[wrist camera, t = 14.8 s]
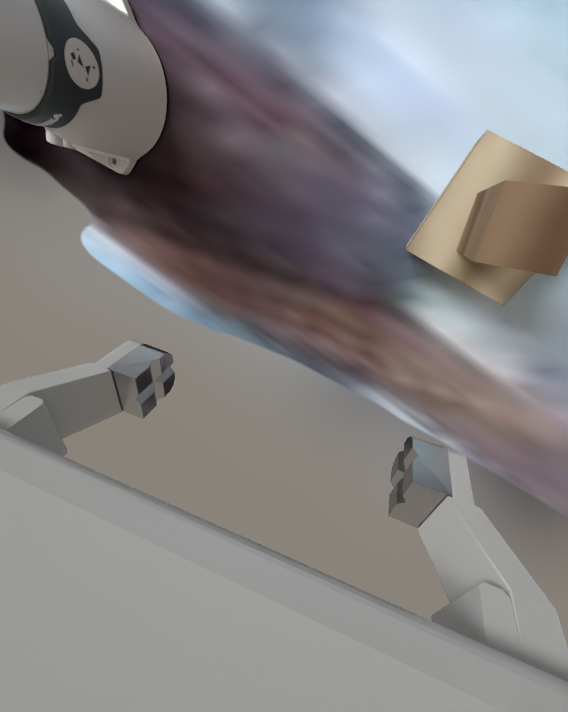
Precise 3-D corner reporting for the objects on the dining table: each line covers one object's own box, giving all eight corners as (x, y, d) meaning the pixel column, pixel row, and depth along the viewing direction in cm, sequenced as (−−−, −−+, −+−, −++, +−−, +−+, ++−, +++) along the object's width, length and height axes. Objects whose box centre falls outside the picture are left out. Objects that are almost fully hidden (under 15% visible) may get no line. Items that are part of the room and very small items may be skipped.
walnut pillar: (456, 250, 30) (472, 261, 21) (477, 193, 28) (505, 180, 19) (513, 259, 29) (556, 276, 20) (540, 200, 26) (601, 190, 18)
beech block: (406, 245, 37) (406, 250, 32) (473, 144, 31) (487, 129, 26) (489, 293, 36) (503, 306, 30) (574, 197, 30) (609, 193, 25)
